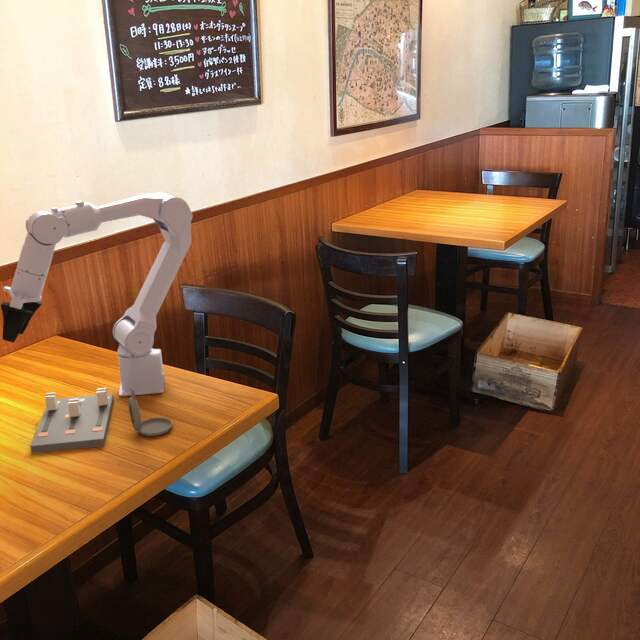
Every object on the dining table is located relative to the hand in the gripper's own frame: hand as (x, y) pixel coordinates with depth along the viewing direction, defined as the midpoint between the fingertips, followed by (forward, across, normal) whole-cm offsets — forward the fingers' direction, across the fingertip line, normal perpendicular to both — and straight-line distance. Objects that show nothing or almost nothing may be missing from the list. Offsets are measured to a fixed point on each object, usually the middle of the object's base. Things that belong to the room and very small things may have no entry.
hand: (12, 336), depth 136 cm
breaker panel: (+13, +4, +16) cm, 21 cm away
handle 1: (+12, -1, +11) cm, 17 cm away
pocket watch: (+9, +10, +30) cm, 33 cm away
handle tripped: (+11, +3, +16) cm, 20 cm away
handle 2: (+9, -1, +20) cm, 22 cm away
